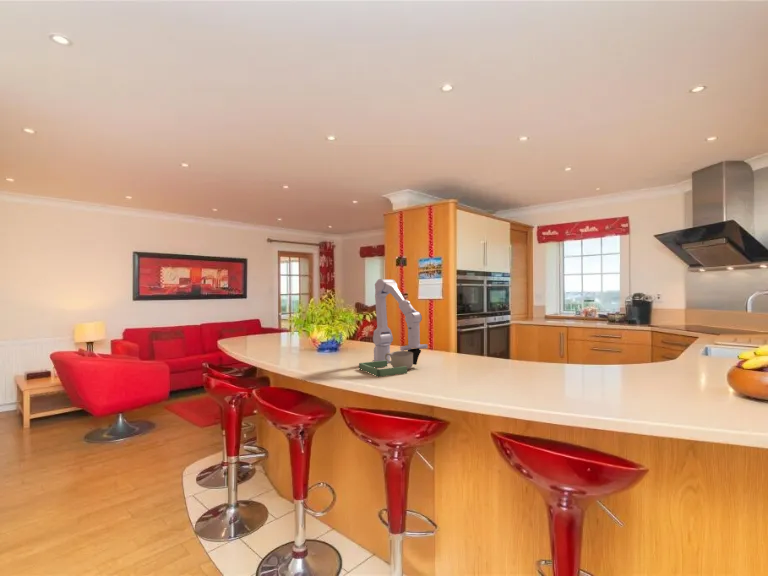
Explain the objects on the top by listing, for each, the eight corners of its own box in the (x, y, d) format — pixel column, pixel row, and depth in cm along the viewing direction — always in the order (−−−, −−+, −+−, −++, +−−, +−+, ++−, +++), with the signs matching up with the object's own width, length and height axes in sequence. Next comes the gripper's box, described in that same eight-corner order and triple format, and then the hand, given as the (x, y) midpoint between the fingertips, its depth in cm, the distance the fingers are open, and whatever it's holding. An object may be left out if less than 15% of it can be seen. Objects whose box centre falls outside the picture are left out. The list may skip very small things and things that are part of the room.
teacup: (417, 368, 184) (417, 351, 184) (406, 372, 175) (406, 355, 175) (392, 366, 191) (392, 350, 192) (380, 369, 182) (380, 353, 182)
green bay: (359, 369, 185) (359, 363, 185) (386, 366, 191) (386, 360, 191) (377, 377, 167) (377, 370, 167) (407, 373, 173) (406, 366, 173)
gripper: (405, 338, 180) (405, 367, 180) (430, 336, 187) (431, 364, 187) (397, 337, 187) (398, 364, 186) (422, 335, 193) (423, 361, 193)
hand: (414, 364), depth 187 cm, fingers closed
